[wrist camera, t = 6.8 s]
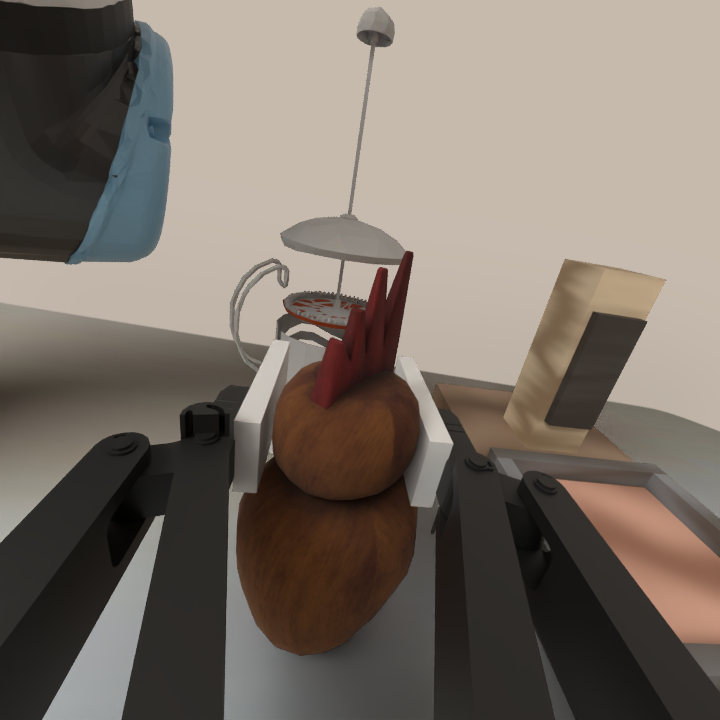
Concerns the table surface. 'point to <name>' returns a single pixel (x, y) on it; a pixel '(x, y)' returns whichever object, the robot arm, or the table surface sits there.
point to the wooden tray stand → (602, 447)
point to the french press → (327, 249)
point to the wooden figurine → (335, 487)
